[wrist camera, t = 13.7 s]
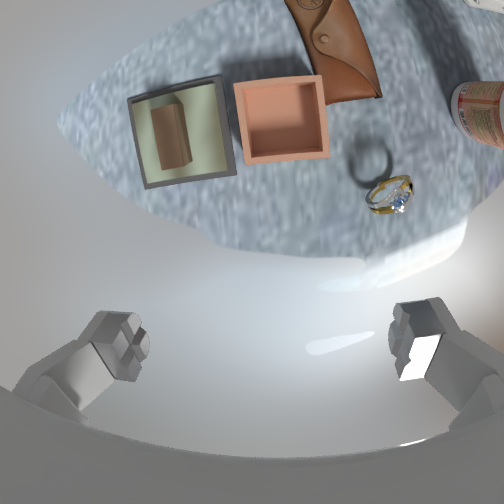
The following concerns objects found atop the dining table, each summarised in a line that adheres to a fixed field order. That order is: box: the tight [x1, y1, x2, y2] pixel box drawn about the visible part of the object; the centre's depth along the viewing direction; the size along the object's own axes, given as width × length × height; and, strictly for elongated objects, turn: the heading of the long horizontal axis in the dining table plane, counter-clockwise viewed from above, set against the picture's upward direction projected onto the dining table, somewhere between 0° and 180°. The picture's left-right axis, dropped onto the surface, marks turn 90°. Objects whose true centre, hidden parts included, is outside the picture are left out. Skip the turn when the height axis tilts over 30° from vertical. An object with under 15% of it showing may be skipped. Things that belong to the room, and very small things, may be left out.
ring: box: [365, 175, 415, 214], centre depth 33 cm, size 7×3×8 cm, turn 124°
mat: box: [127, 76, 237, 190], centre depth 36 cm, size 14×14×1 cm
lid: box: [132, 83, 229, 184], centre depth 34 cm, size 12×12×5 cm
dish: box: [233, 75, 330, 165], centre depth 32 cm, size 10×10×5 cm
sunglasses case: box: [284, 0, 383, 105], centre depth 27 cm, size 18×7×7 cm
